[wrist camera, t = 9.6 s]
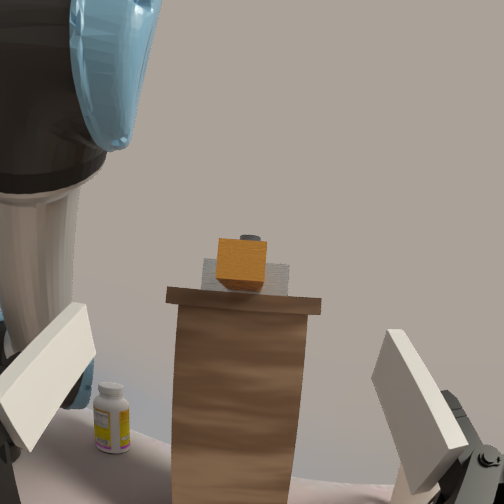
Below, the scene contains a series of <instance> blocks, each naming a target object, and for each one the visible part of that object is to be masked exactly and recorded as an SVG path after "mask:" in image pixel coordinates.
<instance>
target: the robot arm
mask: <svg viewBox="0 0 504 504" xmlns="http://www.w3.org/2000/svg"><path fill="white" fill-rule="evenodd" d="M161 3H162V0H0V308H1V311H0V504H21V502H20V498H19V494H18V490H17V486H16V481H15V477H14V472H13V467H12V463H13V462H14V461H15V460H17V459H18V457H19V456H20V453H21V449H20V448H22V449H24V450H26V451H28V452H30V453H31V451H32V449H33V448H34V446H35V445H36V443H37V441H38V440H39V438H40V437H41V435H42V433H43V432H44V430H45V429H46V427H47V425H48V424H49V422H50V421H51V419H52V418H53V416H54V415H55V413H56V412H57V410H58V408H59V407H60V408H63V409H67V410H69V409H83V408H85V407H86V406H87V405H88V403H89V400H90V396H91V385H92V380H93V367H94V356H95V354H96V351H95V346H94V342H93V337H92V333H91V328H90V323H89V318H88V313H87V308H86V304H82V303H76V302H72V276H73V275H72V274H73V253H74V240H75V239H74V238H75V228H76V217H77V209H78V200H79V193H80V186H81V185H82V184H84V183H86V182H87V181H89V180H90V179H92V178H93V177H94V176H95V175H96V174H97V173H98V172H99V171H100V170H101V168H102V166H103V164H104V162H105V158H106V154H107V152H113V151H115V150H122V149H125V148H126V147H127V146H128V145H129V143H130V140H131V137H132V132H133V128H134V122H135V118H136V113H137V107H138V102H139V97H140V92H141V88H142V83H143V79H144V75H145V70H146V66H147V62H148V57H149V53H150V49H151V45H152V40H153V36H154V32H155V28H156V24H157V20H158V16H159V12H160V7H161ZM371 379H372V381H373V384H374V386H375V390H376V392H377V395H378V398H379V400H380V403H381V405H382V408H383V411H384V414H385V417H386V420H387V422H388V425H389V428H390V431H391V434H392V437H393V439H394V443H395V445H396V449H397V451H398V455H399V458H400V461H401V464H402V467H403V470H404V473H405V476H406V479H407V483H408V486H409V489H410V492H411V495H416V494H420V493H424V492H428V491H430V490H431V489H432V488H433V487H434V486H435V485H436V484H437V483H438V484H439V486H440V490H439V491H438V492H437V493H436V494H435V495H434V496H433V498H432V499H431V500H430V501H429V502H428V503H427V504H431V503H432V502H433V503H432V504H504V455H501V453H500V452H499V451H498V450H497V449H496V448H495V447H493V446H491V445H483V444H482V442H481V440H480V438H479V436H478V435H477V432H476V431H475V429H474V427H473V425H472V423H471V422H470V420H469V418H468V417H467V415H466V413H465V411H464V410H462V406H461V404H460V403H459V401H458V399H457V398H456V397H455V396H454V395H453V394H451V393H450V392H449V391H448V390H444V391H440V390H439V388H438V387H437V385H436V383H435V382H434V380H433V378H432V376H431V375H430V373H429V372H428V370H427V368H426V366H425V365H424V363H423V361H422V360H421V358H420V356H419V355H418V353H417V352H416V350H415V348H414V347H413V345H412V344H411V342H410V340H409V339H408V337H407V336H406V334H405V332H404V331H403V329H387V331H386V335H385V338H384V341H383V344H382V347H381V351H380V354H379V357H378V360H377V363H376V366H375V368H374V372H373V374H372V377H371Z"/></svg>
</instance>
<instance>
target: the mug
mask: <svg viewBox="0 0 504 504" xmlns="http://www.w3.org/2000/svg"><path fill="white" fill-rule="evenodd" d="M439 490H440V486H439V484H438V483H437V484H436V485H435V486H434V487H433V488H432V489H431V490H430V491H428V492H424V493H420V494H416V495H411V492H410V489H409V486H408V483H407V479H406V476H405V473H404V470H403V467H402V464H401V463H400V467H399V471H398V475H397V479H396V483H395V486H394V490H393V493H392V497H391V500H390V504H427V503H428V502H429V501H430V500H431V499H432V498H433V496H434V495H435V494H436V493H437V492H438V491H439ZM432 503H433V502H432ZM432 503H431V504H432Z"/></svg>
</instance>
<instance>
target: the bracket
mask: <svg viewBox="0 0 504 504" xmlns="http://www.w3.org/2000/svg"><path fill="white" fill-rule="evenodd" d="M260 240H261V238H260V237H259V236H255V235H241V236H240V240H236V239H222V238H219V244H218V255H217V260H216V259H204V264H203V273H202V284H201V290H211V291H222V292H235V293H248V294H261V295H276V296H288V280H289V265H284V264H272V263H266V250H267V242H264V241H260Z"/></svg>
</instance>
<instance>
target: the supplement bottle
mask: <svg viewBox="0 0 504 504" xmlns="http://www.w3.org/2000/svg"><path fill="white" fill-rule="evenodd" d="M98 390H99V392H100V395H98V396H96V397H95V399H94V401H93V408H94V429H95V443H96V446H97V447H98V448H99V449H100V450H102V451H104V452H107V453H114V454H117V453H124V452H126V451H128V450H129V448H130V433H129V403H128V401H127V400H126V399H125V398H123V396H122V395H123V393H124V386H123V385H121V384H119V383H114V382H100V383H99V384H98Z"/></svg>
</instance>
